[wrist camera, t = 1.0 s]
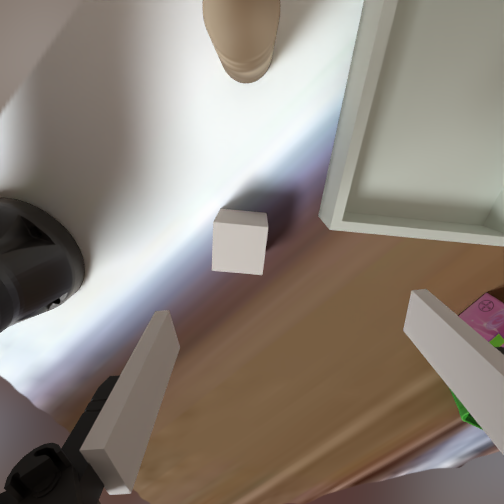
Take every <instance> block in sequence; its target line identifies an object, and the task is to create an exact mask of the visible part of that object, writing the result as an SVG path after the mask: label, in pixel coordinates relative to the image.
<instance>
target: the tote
mask: <svg viewBox="0 0 504 504" xmlns="http://www.w3.org/2000/svg"><path fill="white" fill-rule="evenodd" d="M318 216H319V217H320V219H321V220H322V221H323V222H324V223H325V225H326V226H327V227H328V228H329V229H330V230H338V231H349V232H359V233H370V234H380V235H391V236H401V237H411V238H422V239H432V240H443V241H453V242H464V243H474V244H484V245H495V246H504V0H364V4H363V8H362V13H361V18H360V23H359V27H358V32H357V37H356V41H355V46H354V51H353V55H352V60H351V65H350V70H349V74H348V79H347V84H346V88H345V93H344V98H343V103H342V107H341V112H340V117H339V121H338V126H337V131H336V135H335V140H334V145H333V150H332V154H331V159H330V164H329V168H328V173H327V178H326V182H325V187H324V192H323V197H322V201H321V206H320V211H319V215H318Z"/></svg>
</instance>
